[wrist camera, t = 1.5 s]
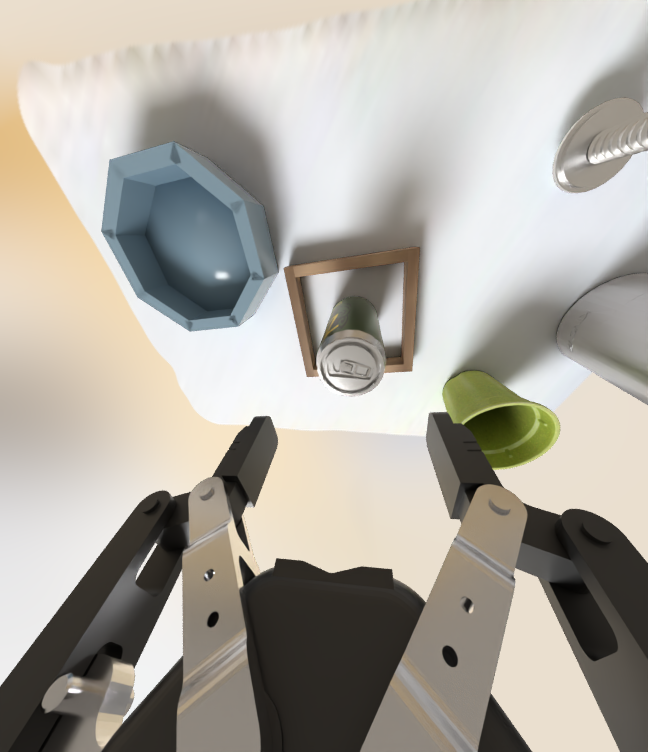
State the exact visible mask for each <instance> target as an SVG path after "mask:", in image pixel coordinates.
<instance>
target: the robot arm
mask: <svg viewBox="0 0 648 752" xmlns="http://www.w3.org/2000/svg"><path fill="white" fill-rule="evenodd" d="M557 345H558V348H559V350H560V351H561V352H562V353H563V354H564V355H565V356H567V357H568V358H570V359H572V360H573V361H575V362H577V363H578V364H580V365H582V366H583V367H585V368H587V369H588V370H590V371H592V372H593V373H595V374H596V375H598V376H600V377H601V378H603V379H605V380H606V381H608V382H610V383H612V384H613V385H615V386H616V387H618V388H620V389H621V390H623V391H625V392H627V393H628V394H630V395H632V396H633V397H635V398H637V399H638V400H640V401H642V402H643V403H645V404H647V405H648V273H638V274H630V275H626V276H622V277H619V278H616V279H613V280H611V281H608V282H606V283H604V284H602V285H600V286H598V287H597V288H595V289H593V290H591V291H590V292H589V293H587V294H586V295H585V296H583V297H582V298H581V299H579V300H578V301H577V302H576V303H575V304H574V305H573V306H572V307H571V308H570V309H569V311H568V312H567V313H566V315H565V316H564V317H563V319H562V321H561V323H560V325H559V327H558V331H557ZM426 441H427V447H428V451H429V454H430V457H431V460H432V463H433V466H434V469H435V472H436V475H437V478H438V482H439V485H440V488H441V491H442V494H443V497H444V500H445V503H446V506H447V509H448V512H449V515H450V518H451V519H460V521H461V527H460V529H459V532H458V534H457V536H456V538H455V539H454V541H453V543H452V545H451V547H450V550H449V552H448V554H447V556H446V558H445V561H444V563H443V565H442V568H441V570H440V572H439V575H438V577H437V579H436V582H435V584H434V586H433V588H432V590H431V593H430V595H429V598H428V600H427V602H425V601H424V600H423V599H422V598H421V597H420V596H419V595H418V594H417V593H416V592H415V591H413V590H412V589H411V588H410V587H408V586H407V585H405V584H403V583H402V582H400V581H398V580H396V579H394V578H393V575H392V574H393V573H392V569H382V568H372V567H357V568H353V569H349V570H344V571H340V572H336V573H328V572H326V571H324V570H322V569H319V568H317V567H315V566H313V565H311V564H308V563H306V562H304V561H299V560H298V561H297V560H288V559H278V558H277V559H276V562H275V566H274V568H271V569H269V570H266V571H264V572H262V573H260V570H259V567H258V565H257V562H256V560H255V557H254V554H253V551H252V547H251V543H250V539H249V535H248V531H247V527H246V523H245V520H244V516H243V512H244V510H245V507H255V504H256V501H257V499H258V496H259V494H260V491H261V489H262V486H263V483H264V481H265V478H266V475H267V473H268V470H269V467H270V465H271V462H272V459H273V457H274V454H275V451H276V449H277V445H278V438H277V434H276V431H275V428H274V425H273V423H272V420H271V418H270V417H269V416H257V417H254V418H253V420H252V422H251V424H250V425H249V426H246V427H245V428H243V430H241V431H240V432H239V433H238V435H237V436H236V438H235V440H234V441H233V443H232V444H231V446H230V448H229V450H228V451H227V453H226V454H225V456H224V458H223V459H222V461H221V463H220V464H219V466H218V468H217V469H216V471H215V473H214V475H213V476H212V477H210V478H207V479H205V480H203V481H201V482H200V483H199V484H198V485H196V487H195V488H194V489H193V490H192V492H189V493H185V494H181V495H178V496H175V497H172V496H171V495H170V494H169V492H167V491H158V492H155V493H153V494H151V495H149V496H148V497H146V498H145V499H144V500H142V501H141V502H140V503H139V504H138V506H137V507H136V508H135V510H134V511H133V512H132V513H131V515H130V516H129V517H128V519H127V520H126V521H125V523H124V524H123V525H122V527H121V528H120V529H119V531H118V532H117V533H116V535H115V536H114V537H113V538H112V540H111V541H110V542H109V544H108V545H107V546H106V548H105V549H104V550H103V552H102V553H101V554H100V556H99V557H98V558H97V560H96V561H95V562H94V564H93V565H92V566H91V568H90V569H89V570H88V571H87V573H86V574H85V575H84V577H83V578H82V579H81V581H80V582H79V583H78V585H77V586H76V587H75V589H74V590H73V591H72V593H71V594H70V595H69V596H68V598H67V599H66V601H65V602H64V603H63V604H62V606H61V607H60V608H59V610H58V611H57V612H56V614H55V615H54V616H53V618H52V619H51V620H50V622H49V623H48V624H47V626H46V627H45V628H44V629H43V631H42V632H41V633H40V635H39V636H38V637H37V639H36V640H35V642H34V643H33V644H32V645H31V647H30V648H29V649H28V651H27V652H26V653H25V655H24V656H23V657H22V659H21V660H20V661H19V663H18V664H17V665H16V667H15V668H14V669H13V670H12V672H11V673H10V674H9V676H8V677H7V678H6V680H5V681H4V682H3V684H2V685H1V686H0V752H532V751H531V750H530V748H529V747H528V745H527V744H526V742H525V741H524V740H523V738H522V737H521V735H520V734H519V733H518V731H517V730H516V728H515V727H514V725H513V724H512V723H511V721H510V720H509V718H508V717H507V716H506V714H505V713H504V711H503V710H502V708H501V707H500V706H499V704H498V703H497V701H496V700H495V698H494V697H493V696H492V694H491V689H492V684H493V680H494V676H495V671H496V667H497V663H498V658H499V654H500V650H501V645H502V641H503V636H504V632H505V627H506V624H507V619H508V615H509V611H510V606H511V602H512V598H513V593H514V588H515V578H514V570H515V568H517V569H519V570H522V571H524V572H527V573H529V574H532V575H534V576H537V577H538V578H539V580H540V583H541V584H542V587H543V589H544V591H545V593H546V595H547V597H548V600H549V602H550V604H551V606H552V608H553V610H554V612H555V614H556V617H557V619H558V621H559V623H560V625H561V627H562V629H563V631H564V634H565V636H566V638H567V640H568V642H569V644H570V646H571V648H572V651H573V653H574V655H575V657H576V659H577V661H578V663H579V665H580V668H581V670H582V672H583V674H584V676H585V678H586V680H587V682H588V685H589V687H590V689H591V691H592V693H593V695H594V697H595V699H596V701H597V704H598V706H599V708H600V710H601V712H602V714H603V716H604V718H605V721H606V722H607V725H608V727H609V729H610V731H611V733H612V735H613V738H614V740H615V742H616V744H617V746H618V748H619V750H620V752H648V563H647V562H646V560H645V559H644V558H643V557H642V556H641V554H640V553H639V552H638V551H637V550H636V548H635V547H634V546H633V545H632V543H630V541H629V540H628V539H627V537H626V536H625V535H624V534H623V533H622V532H621V531H620V530H619V529H618V528H617V527H615V526H614V525H613V524H612V523H610V522H609V521H607V520H606V519H604V518H602V517H600V516H598V515H596V514H594V513H591V512H588V511H585V510H580V509H569V510H566V511H565V512H564V513H563V514H562V515H558V514H555V513H551V512H548V511H544V510H541V509H538V508H535V507H532V506H529V505H527V504H525V503H523V502H521V500H520V499H519V498H518V497H517V496H516V495H515V494H513V493H512V492H510V491H509V490H507V489H505V488H504V487H503V486H502V484H501V483H500V481H499V479H498V477H497V476H496V474H495V472H494V470H493V469H492V467H491V465H490V463H489V462H488V460H487V458H486V456H485V455H484V453H483V452H482V449H481V448H480V446H479V444H478V443H477V441H476V439H475V437H474V435H473V434H472V432H471V431H470V430H469V429H468V428H466V427H465V426H464V425H463V424H462V423H453V421H452V419H451V417H450V415H449V413H448V412H433V413H429V417H428V426H427V434H426ZM154 543H157V544H158V545H157V546H156V548H155V550H154V552H153V553H152V555H151V557H150V558H149V560H148V561H147V563H146V565H145V566H144V568H143V570H142V571H141V573H140V575H139V577H138V578H137V580H136V575H137V572H138V570H139V568H140V567H141V565H142V563H143V562H144V560H145V558H146V557H147V555H148V553H149V552H150V550H151V548H152V547H153V545H154ZM181 570H182V574H183V576H182V577H183V656H182V657H181V658H180V659H179V661H178V662H177V663H176V664H175V665H174V666H173V667H172V668H171V670H170V671H169V672H168V673H167V674H166V675H165V676H164V677H163V679H162V680H161V681H160V682H159V683H158V684H157V685H156V687H155V688H154V689H153V690H152V691H151V692H150V693H149V694H148V695H147V697H146V698H145V699H144V700H143V701H142V702H141V704H140V705H139V706H138V707H137V708H136V709H135V710H134V711H133V712H132V713H131V715H130V716H129V717H128V718H127V719H126V720H125V721H124V723H123V724H122V722H123V717H124V716H125V715H126V713H127V712H128V711H129V709H130V707H131V705H132V702H133V699H134V690H133V686H134V680H135V673H134V668H135V666H136V664H137V662H138V660H139V658H140V655H141V654H142V651H143V649H144V647H145V645H146V643H147V641H148V639H149V636H150V634H151V633H152V631H153V628H154V626H155V624H156V622H157V620H158V618H159V616H160V614H161V612H162V610H163V607H164V606H165V603H166V601H167V599H168V597H169V595H170V593H171V591H172V589H173V587H174V585H175V583H176V580H177V578H178V576H179V574H180V572H181ZM135 580H136V582H135Z"/></svg>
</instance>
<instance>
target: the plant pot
mask: <svg viewBox="0 0 648 752" xmlns="http://www.w3.org/2000/svg"><path fill="white" fill-rule="evenodd" d="M442 395H443V400H444V403H445V407H446V410H447V412H448V413H449V415H450V417H451V419H452V421H453V423H462V424H463V425H464V426H465V427H466V428H468V429H469V430H470V431H471V432H472V434H473V435H474V437H475V439H476V441H477V443H478V444H479V446H480V448H481V449H482V452H483V453H484V455H485V456H486V458H487V460H488V462H489V463H490V465H491V467H492V469H493V470H498V469H508V468H513V467H517V466H520V465H524V464H526V463H529V462H531V461H533V460H535V459H537V458H538V457H540V456H542V455H543V454H544V453H546V452H547V451H548V450H549V449H550V448H551V447H552V446H553V445H554V444H555V442H556V441H557V439H558V437H559V434H560V422H559V420H558V418H557V416H556V415H555V414H554V413H553V412H552V411H551V410H550V409H548V408H547V407H545V406H543V405H541V404H538V403H535V402H530V401H529V400H526V399H524V398H521V397H519V396H518V395H517V394H515V393H514V392H512V391H511V390H509V389H508V388H507V387H505V386H504V385H502V384H501V383H500V382H498V381H497V380H496V379H494V378H493V377H491V376H490V375H488V374H487V373H485V372H482V371H466V372H462V373H460V374H459V375H458V376H456V377H455V378H453V379H450V380H449V381H448V382H447V383H446V385H445V386H444V389H443V393H442Z"/></svg>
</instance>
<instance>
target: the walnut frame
mask: <svg viewBox="0 0 648 752" xmlns="http://www.w3.org/2000/svg"><path fill="white" fill-rule="evenodd" d="M419 255H420V248H419V247H409V248H403V249H396V250H390V251H383V252H377V253H370V254H363V255H357V256H350V257H344V258H337V259H330V260H324V261H317V262H311V263H304V264H298V265H291V266H287V267H285V268H284V272H285V277H286V282H287V286H288V291H289V296H290V300H291V305H292V310H293V314H294V319H295V324H296V328H297V333H298V338H299V342H300V347H301V351H302V356H303V361H304V365H305V370H306V375H307V377H317V376H319V374H318V372H317V365H316V361H315V356H314V350H313V345H312V340H311V334H310V329H309V323H308V318H307V313H306V307H305V302H304V296H303V291H302V285H301V280H300V277H302V276H309V275H316V274H323V273H330V272H337V271H344V270H351V269H358V268H365V267H372V266H380V265H387V264H394V263H401V262H404V284H403V315H402V345H401V357H391V358H386V366H385V371H384V373H390V372H409V371H412V366H413V350H414V334H415V318H416V302H417V286H418V271H419Z"/></svg>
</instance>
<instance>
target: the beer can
mask: <svg viewBox="0 0 648 752" xmlns="http://www.w3.org/2000/svg"><path fill="white" fill-rule="evenodd" d="M316 365H317V372H318V374H319V377H320V380H321V381H322V382H323V384H324V385H325V386H326V387H327V388H328V389H330V390H331V391H333V392H335V393H337V394H340V395H343V396H358V395H363V394H365V393H367V392H370V391H371V390H373V389H374V388H375V387H376V386H377V385H378V384H379V382H380V381H381V379H382V377H383V374H384V371H385V366H386V355H385V350H384V345H383V340H382V336H381V331H380V326H379V322H378V317H377V312H376V310H375V308H374V306H373V305H372V304H371V303H370V302H369V301H368V300H367V299H364V298H362V297H356V296H351V297H347V298H344V299H343V300H341V301H340V302H338V303H337V304H336V306H335V307H334V308H333V310H332V313H331V316H330V319H329V321H328V324H327V327H326V330H325V333H324V336H323V338H322V341H321V344H320V347H319V350H318V352H317V356H316Z"/></svg>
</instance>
